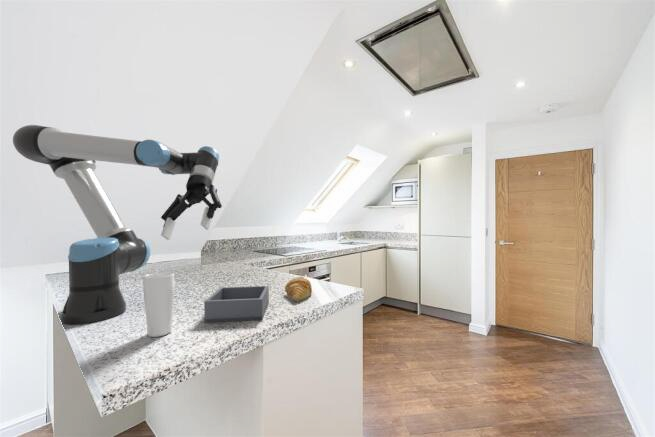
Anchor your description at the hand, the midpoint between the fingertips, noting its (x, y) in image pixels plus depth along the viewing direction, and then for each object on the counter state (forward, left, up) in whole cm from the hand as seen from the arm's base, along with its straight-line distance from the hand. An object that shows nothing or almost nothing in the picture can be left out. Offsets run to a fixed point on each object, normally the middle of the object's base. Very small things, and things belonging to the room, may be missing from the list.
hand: (184, 232), depth 80 cm
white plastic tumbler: (-2, -10, -26) cm, 28 cm away
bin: (+15, +4, -25) cm, 30 cm away
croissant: (+33, +21, -26) cm, 47 cm away
